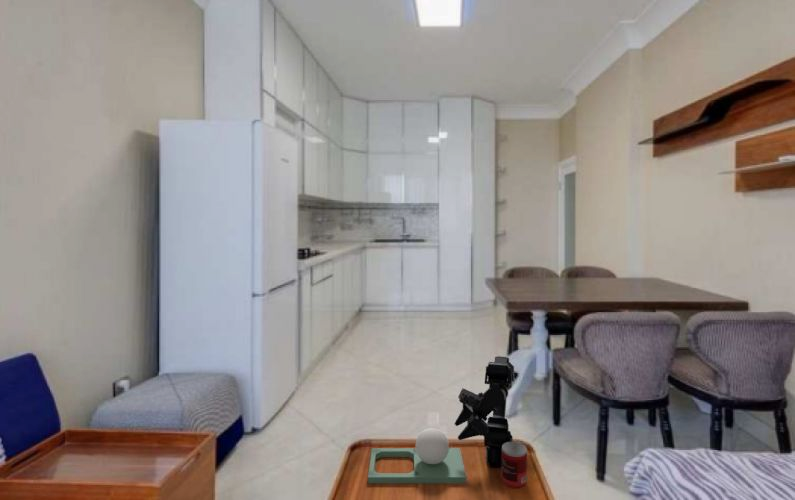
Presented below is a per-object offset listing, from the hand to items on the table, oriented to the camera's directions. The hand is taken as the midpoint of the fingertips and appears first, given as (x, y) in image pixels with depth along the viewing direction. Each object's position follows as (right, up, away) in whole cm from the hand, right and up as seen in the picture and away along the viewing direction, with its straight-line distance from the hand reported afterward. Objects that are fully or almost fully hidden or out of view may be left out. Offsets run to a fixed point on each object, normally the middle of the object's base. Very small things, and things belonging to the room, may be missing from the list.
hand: (456, 431), depth 149 cm
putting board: (-13, -12, +1) cm, 18 cm away
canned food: (+17, -13, -7) cm, 22 cm away
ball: (-8, -5, +1) cm, 9 cm away
